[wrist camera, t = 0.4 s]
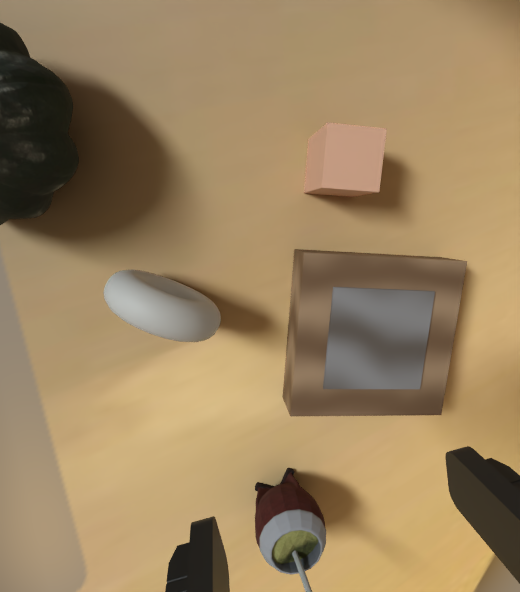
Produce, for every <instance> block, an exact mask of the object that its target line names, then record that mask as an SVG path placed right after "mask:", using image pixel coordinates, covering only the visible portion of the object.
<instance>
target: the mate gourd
mask: <svg viewBox="0 0 520 592" xmlns="http://www.w3.org/2000/svg"><path fill="white" fill-rule="evenodd" d="M293 475H294V470H293V469H292V468H287V470H286V472H285V474H284V477H283V479H282V481H281V483H280V484H279V485H277V486H271V485H267V484H263V483H259V482H257V483H256V486H255V490H256V491H258V494H257V498H256V515H255V530H256V540H257V544H258V546H259V548H260V551H261V553H262V555H263V557H264V559H265V560H266V562H267V563H268V564H269V565H271V566H272V567H274V568H275V569H277V570H278V571H280V572H282V573H286V574H297V573H299V574H300V577H301V580H302V583H303V585H304V588H305V591H306V592H312V590H311V587H310V585H309V582H308V579H307V576H306V574H305V571H306V570H308V569H310V568H312V567H313V566H314V565H315V564H316V563H317V562H318V561H319V559H320V557H321V554H322V552H323V550H324V548H325V544H326V529H325V522H324V517H323V515H322V513H321V511H320V508H319V506H318V505H317V503H316V501H315V500H314V499H313V497H312V496H311V495H310V494H309V493H307V492H306V491H305V490H304V489H303V488H302V487H300V485H299V483H298V482H297V480H296V479H295V478H294V476H293Z"/></svg>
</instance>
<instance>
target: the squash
mask: <svg viewBox="0 0 520 592" xmlns="http://www.w3.org/2000/svg"><path fill="white" fill-rule="evenodd" d="M72 110H73V102H72V98H71V96H70V93H69V91H68V89H67V87H66V86H65V84H64V83H63V82H62V81H61V80H60V79H59V78H58V77H57V76H56V75H55V74H54V73H53V72H52V71H50V70H48V69H47V68H45V67H44V66H42V65H40V64H39V63H38V62H37V61H35V60H33V59H32V58H30V55H29V52H28V50H27V48H26V46H25V44H24V42H23V41H22V39H21V37H20V36H19V35H18V33H17V32H16V31H14V30H13V29H11V28H9V27H8V26H6V25H4V24H2V23H0V225H1V224H3V223H5V222H6V221H8V220H9V219H22V218H35V217H38V216H40V215H42V214H43V213H44V212H45V211H46V210H47V209H48V208H49V206H50V204H51V201H52V197H53V193H54V191H55V190H57V189H59V188H60V187H62V186H63V185H64V184H65V183H67V182H68V181H69V180H70V179H71V178H72V176H73V175H74V173H75V171H76V169H77V166H78V162H79V157H78V152H77V148H76V146H75V144H74V142H73V141H72V139H71V138H70V136H69V135H68V129H69V125H70V122H71V117H72Z"/></svg>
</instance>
